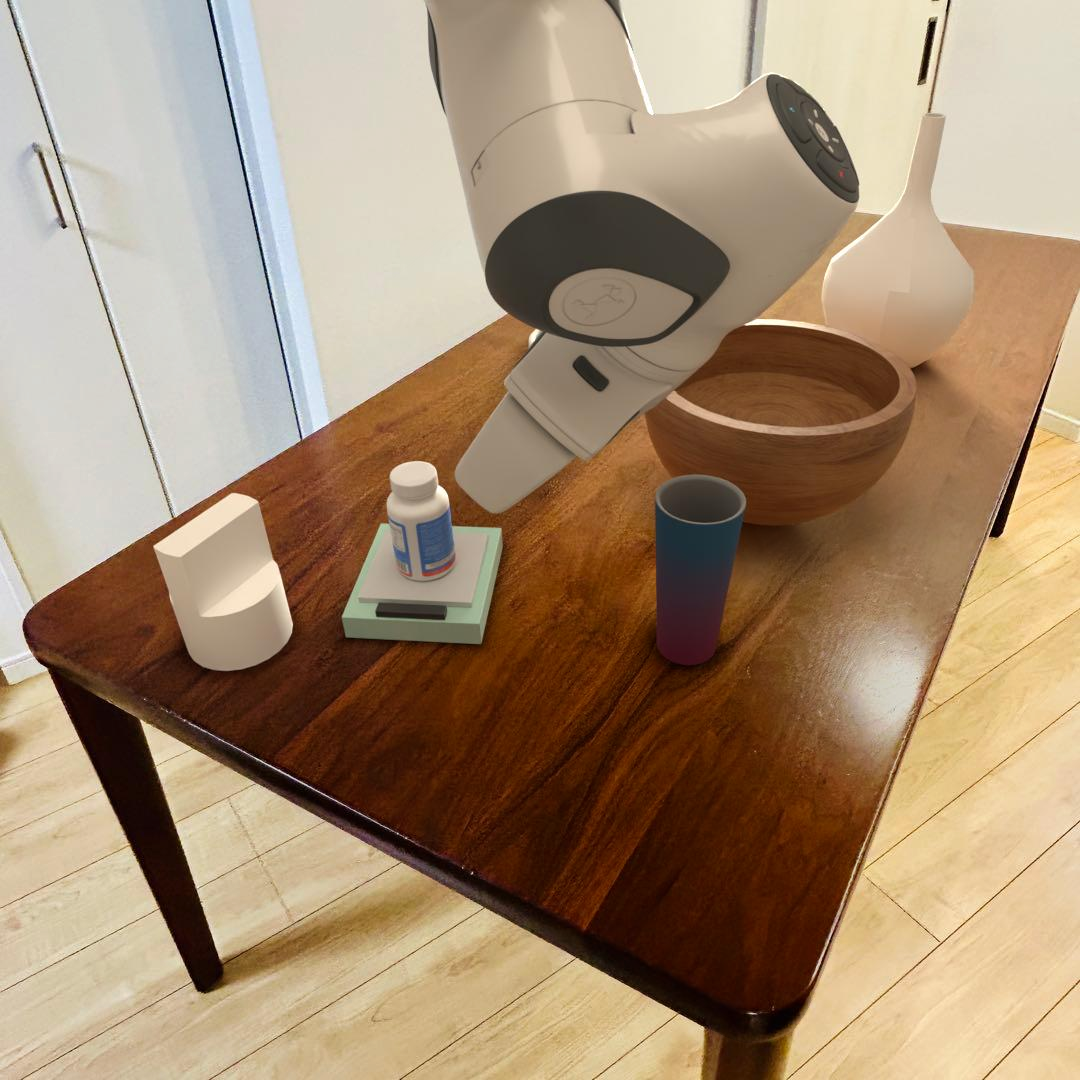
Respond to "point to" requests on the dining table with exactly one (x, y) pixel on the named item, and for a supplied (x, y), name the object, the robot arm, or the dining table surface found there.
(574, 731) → the dining table surface
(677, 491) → the cup
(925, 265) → the vase
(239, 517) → the base with upright slab
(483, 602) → the scale
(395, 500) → the pill bottle
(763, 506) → the bowl
